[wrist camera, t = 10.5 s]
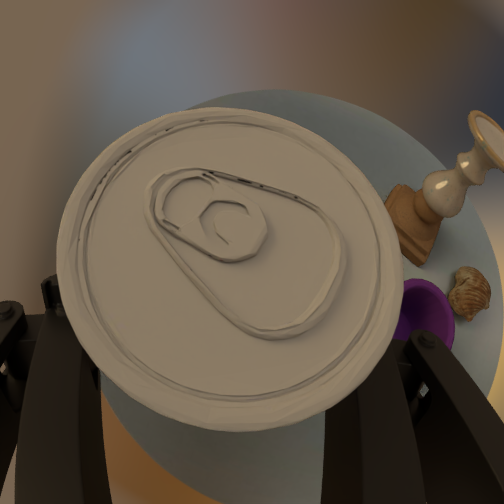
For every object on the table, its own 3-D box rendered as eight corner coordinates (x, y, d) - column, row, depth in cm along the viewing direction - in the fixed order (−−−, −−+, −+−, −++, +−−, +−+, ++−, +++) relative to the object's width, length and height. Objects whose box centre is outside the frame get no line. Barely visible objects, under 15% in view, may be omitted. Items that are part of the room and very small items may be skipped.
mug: (403, 293, 43) (444, 272, 33) (416, 365, 38) (463, 358, 29) (298, 309, 39) (327, 288, 30) (311, 395, 35) (346, 399, 26)
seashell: (474, 294, 46) (452, 265, 46) (502, 283, 40) (480, 251, 40) (460, 332, 42) (437, 302, 43) (491, 324, 36) (469, 290, 36)
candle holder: (418, 268, 45) (527, 195, 23) (370, 226, 46) (464, 127, 24) (436, 226, 49) (524, 151, 27) (393, 187, 50) (471, 96, 29)
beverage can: (259, 383, 17) (439, 395, 4) (166, 389, 16) (45, 438, 3) (250, 295, 19) (361, 111, 6) (161, 299, 18) (85, 105, 5)
